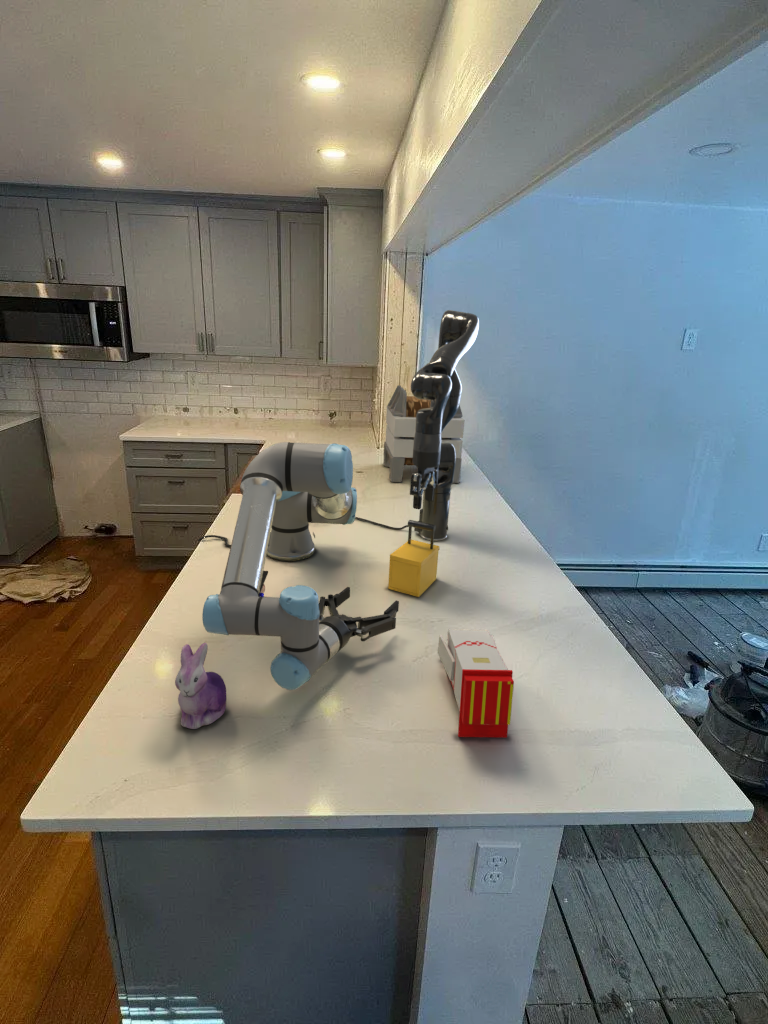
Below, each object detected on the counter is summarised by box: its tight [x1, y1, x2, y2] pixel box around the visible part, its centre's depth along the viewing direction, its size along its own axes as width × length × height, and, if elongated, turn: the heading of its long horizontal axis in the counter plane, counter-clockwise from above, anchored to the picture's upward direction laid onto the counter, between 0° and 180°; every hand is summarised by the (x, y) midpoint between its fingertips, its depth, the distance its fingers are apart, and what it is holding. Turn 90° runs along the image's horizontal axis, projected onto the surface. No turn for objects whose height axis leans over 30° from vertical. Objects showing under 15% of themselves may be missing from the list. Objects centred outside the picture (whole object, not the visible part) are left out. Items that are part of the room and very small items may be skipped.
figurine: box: [174, 642, 227, 730], centre depth 106 cm, size 9×10×15 cm
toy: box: [437, 628, 515, 738], centre depth 117 cm, size 12×13×30 cm
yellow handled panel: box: [389, 519, 441, 567], centre depth 160 cm, size 14×10×9 cm
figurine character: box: [258, 570, 269, 597], centre depth 147 cm, size 7×8×15 cm
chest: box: [387, 551, 439, 598], centre depth 162 cm, size 13×10×9 cm
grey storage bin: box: [383, 384, 465, 484], centre depth 268 cm, size 34×33×41 cm
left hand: (372, 598), depth 140 cm, fingers open, 13 cm apart
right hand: (423, 504), depth 159 cm, fingers open, 8 cm apart
